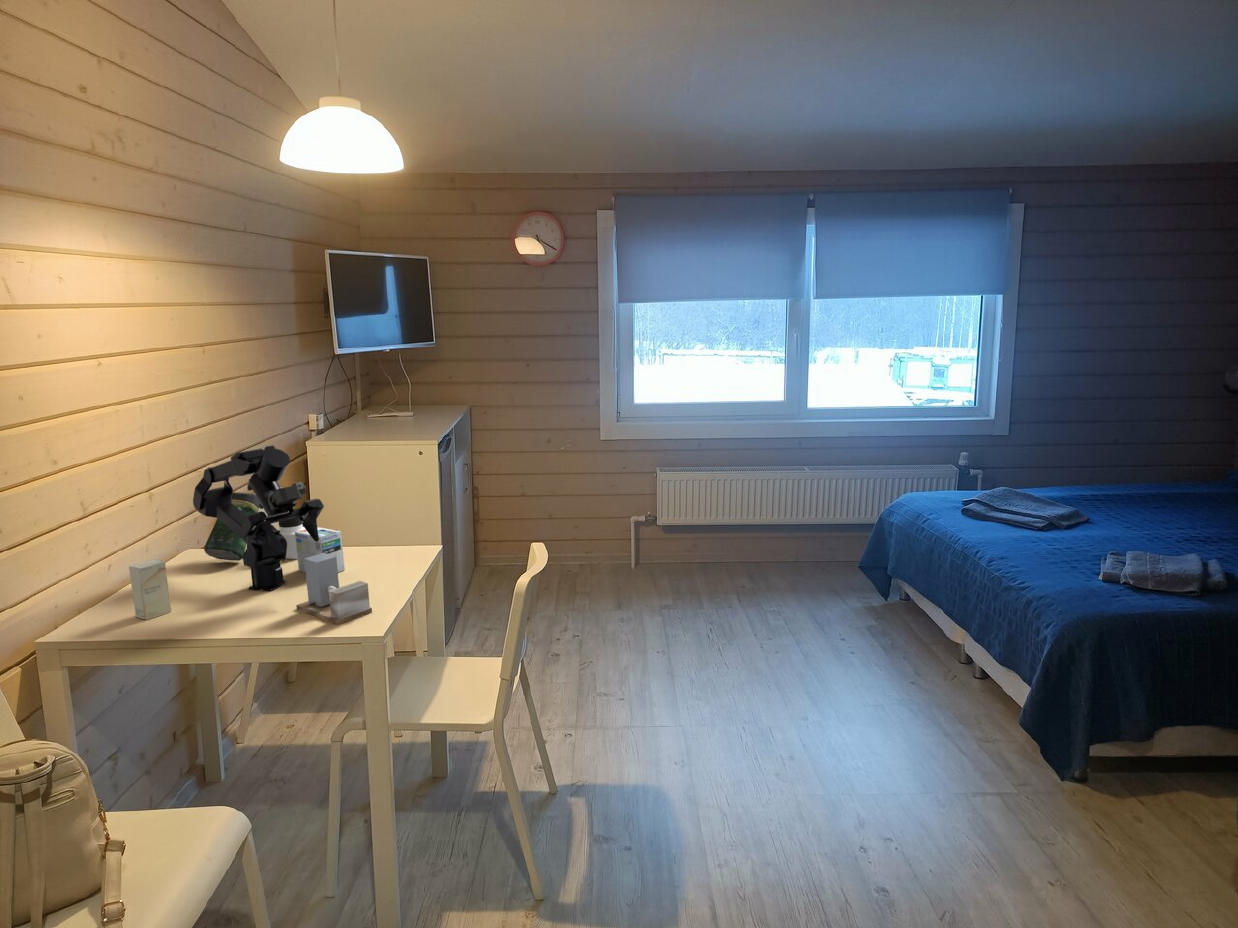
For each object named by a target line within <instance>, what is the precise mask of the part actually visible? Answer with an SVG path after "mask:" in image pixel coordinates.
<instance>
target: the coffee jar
mask: <svg viewBox="0 0 1238 928" xmlns="http://www.w3.org/2000/svg"><path fill="white" fill-rule="evenodd" d="M232 504H233V505H234V506H236V507H237V508H238V509H239V510H240V511H242V512H243V513H244V514H245V515H246V516H247V515H248V514H252V513H257V512H260V511H259V510H260V508H259V504H260V502H259V500H258V498H257V496H256V495H255V493H254V492H253V493H247V492H236V491H233V493H232ZM246 549H247V543H246V542H245V541H244V540H243V539H241V538H240V537H239V536H238V535H237V534H236V533H234V532H233V531H232V530H231V529H230V528H229V527H227V526H226V525H225V524H224V523H223V522H222V521H220V520H219V519H218V518H216V519H215V523H214V525H213V527H212V529H211V532H210V534H209V536H208V538H207V540H206V542H205V545H204V547H203V551H204V553H205V554H207V556H209V557H213V558H215V559H217V560H224V561H235V562H236V561H237V562H238V561H241V560H243V559H242V556H243V554H244V552H245V551H246Z"/></svg>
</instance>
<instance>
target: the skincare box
mask: <svg viewBox="0 0 1238 928" xmlns="http://www.w3.org/2000/svg"><path fill="white" fill-rule="evenodd" d="M128 570H129V578H130V583H131V584H130V585H131V592H132V600H133V606H134V608H133V609H134V615H135V618H138V619H142V620H146V621H147V620H150V619H153V618H157V617H160V616H163V615H166V614H167V615H168V614H169V613H171V612H172V607H171V606H172V605H171V599H170V591H169V590H170V589H169V583H168V576H167V575H168V574H167V568H166V561H164V560H161V559H157V558H154V559H151V560H150V559H149V560H146V561H142V562H139V563H135V564H132V565H128Z"/></svg>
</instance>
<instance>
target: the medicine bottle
mask: <svg viewBox="0 0 1238 928" xmlns="http://www.w3.org/2000/svg"><path fill="white" fill-rule="evenodd" d="M302 524H303V521H301V520H300V518H299V517H296V518H292V519H288V520H284V521H280V522H278V527H279V529H278V530H280V533H281V534H282V535H283V536H284V537H285V539H286V541H287V551H286V559H285V560H298V557H297V548H296V539H295V532H296V531H299V530H303V529H305V528H304V526H303V525H302Z"/></svg>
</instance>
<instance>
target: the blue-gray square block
mask: <svg viewBox="0 0 1238 928" xmlns="http://www.w3.org/2000/svg"><path fill="white" fill-rule="evenodd" d="M304 561H305V571H306V572H305V578H306V587H307V588H306V589H307V598H308V599H307V600H308V601H309V602H310V603H309V606H313V605H318V606H320V607H322V606H325V605H328V604H330V599H329V591H330V590H333V589H336V588H339V587H340V582H339V572H338V569H337V558H336V556H332V555H329V554H326V553H321V554H318V555H314V556H311V557H308V558H304Z"/></svg>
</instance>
